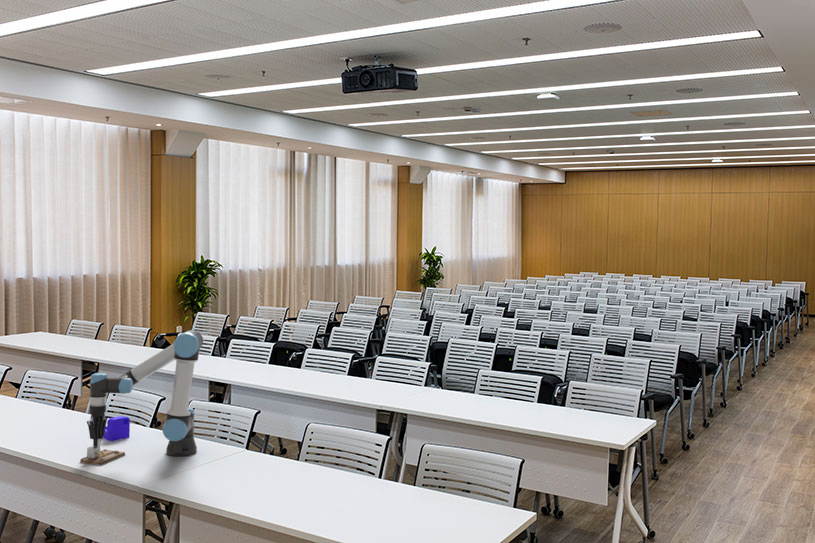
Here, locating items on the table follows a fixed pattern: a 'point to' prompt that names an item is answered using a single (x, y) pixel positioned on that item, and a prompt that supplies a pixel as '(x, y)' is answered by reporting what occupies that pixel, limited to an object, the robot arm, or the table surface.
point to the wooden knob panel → (103, 457)
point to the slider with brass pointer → (94, 452)
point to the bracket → (117, 428)
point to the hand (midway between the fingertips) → (96, 451)
